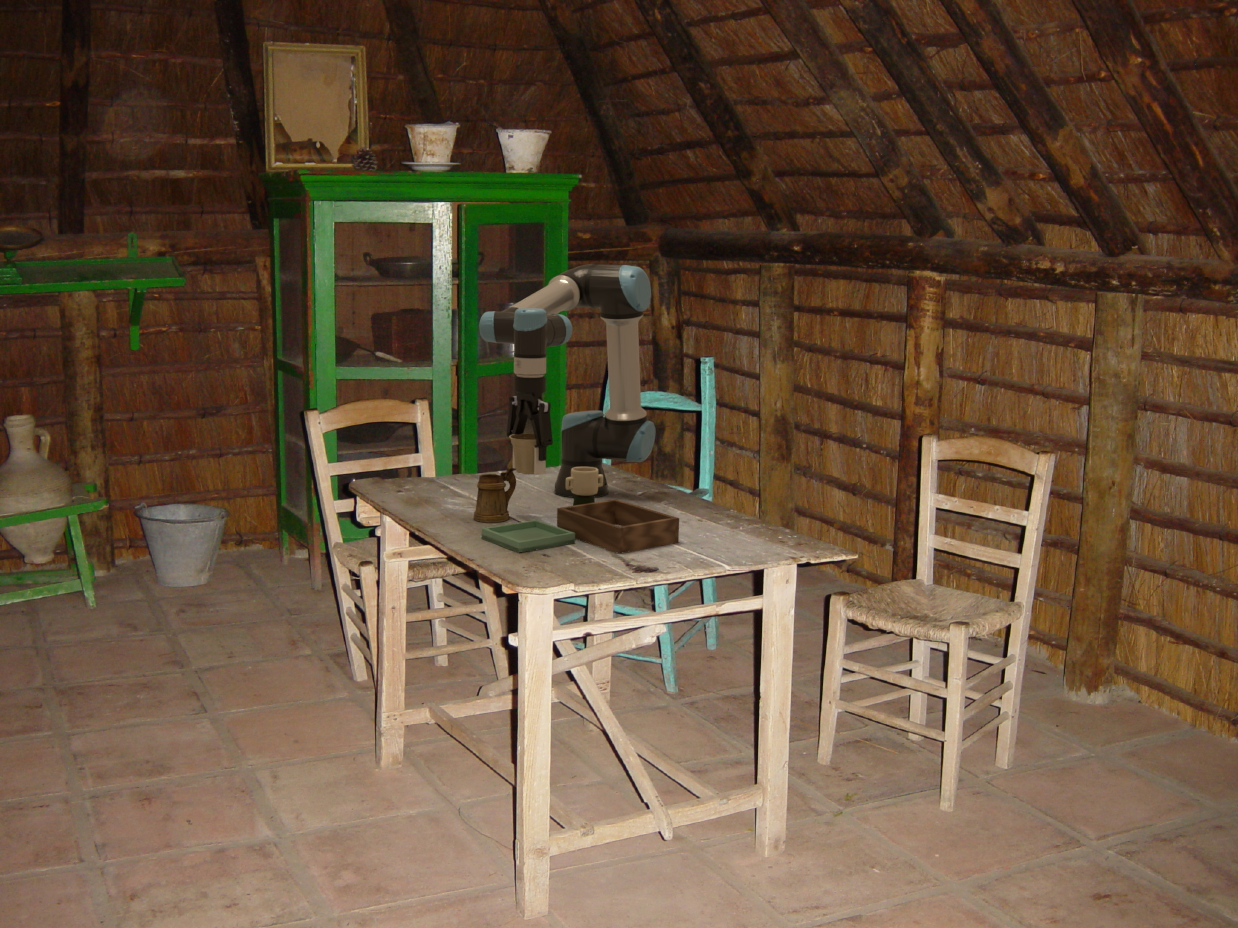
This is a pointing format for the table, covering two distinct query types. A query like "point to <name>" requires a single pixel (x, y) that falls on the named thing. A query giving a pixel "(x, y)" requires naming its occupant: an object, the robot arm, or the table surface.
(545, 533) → the green tray
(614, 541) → the walnut crate
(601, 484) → the character mug
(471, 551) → the table surface
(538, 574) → the table surface
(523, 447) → the flower pot
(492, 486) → the wooden mug
